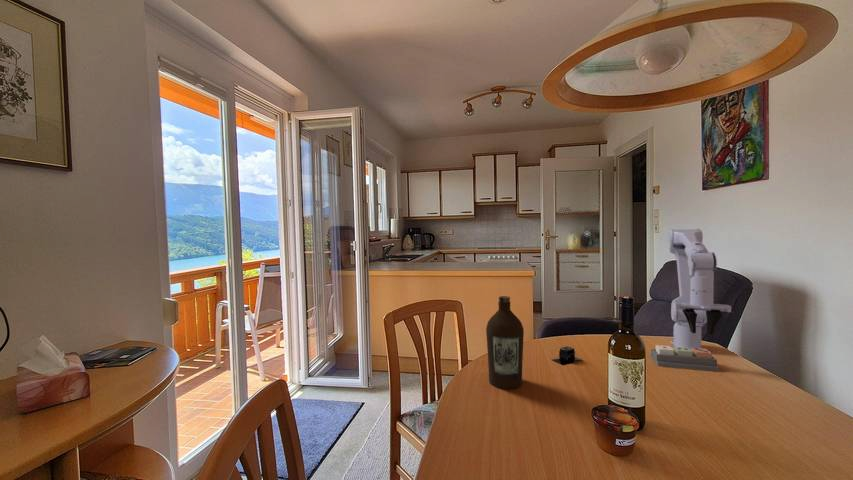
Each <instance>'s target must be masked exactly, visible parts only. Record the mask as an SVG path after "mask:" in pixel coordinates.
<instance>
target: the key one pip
mask: <svg viewBox="0 0 853 480" xmlns="http://www.w3.org/2000/svg"><path fill="white" fill-rule="evenodd" d="M655 349H656V352H657V353H658V354H661V355H673V356H674V350H673V347H671V346H670V345H658V344H655Z"/></svg>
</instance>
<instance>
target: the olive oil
mask: <svg viewBox="0 0 853 480" xmlns="http://www.w3.org/2000/svg"><path fill="white" fill-rule="evenodd" d="M524 331H525V330H524V326H523V323H522V321H521V320H520V319H519V317H517V315H515V313H514V312H513V311H512V310H511V297H510V296H508V295H500V296H498V310H497V311H496V312H495V313H494V314H493V315H492V316H491V317H490V318H489V320H488V322H487V324H486V328H485V333H486V348H487V364H488V365H487V366H488V381H489V384H491V386H494V387H495V388H499V389H502V390H503V389H504V390H513V389H517V388H519V387H521V385H523V354H524V353H523V352H524V336H525V335H524V334H525V333H524Z"/></svg>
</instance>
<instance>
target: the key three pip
mask: <svg viewBox="0 0 853 480" xmlns="http://www.w3.org/2000/svg"><path fill="white" fill-rule="evenodd" d="M691 351H692V352H693V355H694V356H695V357H697V358H709V359H712V357H713V353H712V352H711V351H709V350H708V349H707V348H703V349H700V348H691Z"/></svg>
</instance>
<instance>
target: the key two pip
mask: <svg viewBox="0 0 853 480" xmlns="http://www.w3.org/2000/svg"><path fill="white" fill-rule="evenodd" d="M672 349H673V350H674V353H675V354H676V355H677V356H685V357H693V352H692V351H691V350H690V349H689V348H687V347H675V346H674V345H673V346H672Z"/></svg>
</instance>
